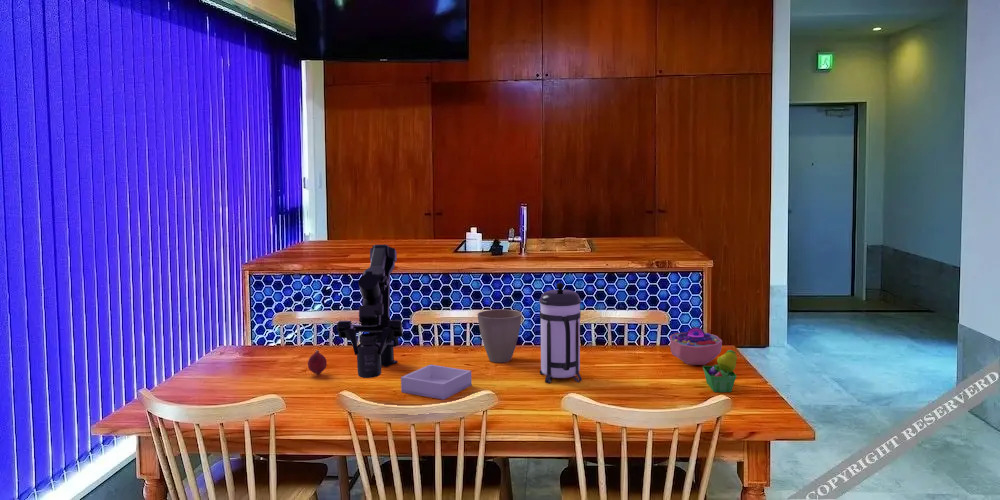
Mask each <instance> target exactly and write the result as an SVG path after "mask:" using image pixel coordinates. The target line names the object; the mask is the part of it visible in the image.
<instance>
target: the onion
mask: <svg viewBox="0 0 1000 500" xmlns="http://www.w3.org/2000/svg"><path fill="white" fill-rule="evenodd" d="M327 363H328V362H327V358H326V357H325V356H324V354H322V353H320V350H318V349H317V350H315V352H314V353H313V354H311V356H310V357H309V359H308V360H307V367H308V370H309V371H311V373H313V374H314V375H316V376H318V375H320V374H322V373H323V371H324V370H325V369H326V367H327Z"/></svg>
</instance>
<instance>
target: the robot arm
mask: <svg viewBox="0 0 1000 500" xmlns="http://www.w3.org/2000/svg"><path fill="white" fill-rule="evenodd" d="M397 255H398V253H397V250H396V248H393V247H392V246H389V245H388V244H374V245H372V247H371V248H370V249H369V261H370V264H369V267H368V268H367V269H365V270H364V272H363V275H361V276H360V278H359V279H358V282H357V283H358V286H359V292H360V294H361V297H362V305H359V306H358V321H359V323H360V324H355V323H353V322H352V320H339V321H338V322H337V323H336V328H335V329H336V331H337V334H338V338H340V339H346V340H347V341H350V342H351V344H352V348H353V349H352V350H353V352H354V356H357V346H358V338H357V333H374V334H376V339H377V341H376V343H378V344H379V345H380V355H381V367H384V368H385V367H386V368H387V367H389V366H392V365H394V364H396V363H398V360H397V359H396V360H395V356H394V355H395V353H394V352H395V351H394V348H396V347H397V346H399V338H401V337H403V335H404V333H403V332H404V328H403V324H402V323H403V322H402V321H401V320H400V319H391V318H390V306H391V305H390V298H391V297H390V296H391V295H390V293H391V292H390V291H391V287H390V285H391V274H392V272H393V271H394V269H395V267H396V262H397V259H398V258H397Z"/></svg>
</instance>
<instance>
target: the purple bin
mask: <svg viewBox="0 0 1000 500" xmlns="http://www.w3.org/2000/svg"><path fill="white" fill-rule="evenodd" d="M400 385H401V386H400V391H401V393H405V394H411V395H417V396H421V397H422V396H423V397H427V398H431V399H432V398H433V399H439V400H446V399H448V398H450V397H451V396H454V395H456V394H458V393H459V392H461V391H463V390H465V389H467V388H469V387H471V386H472V370H469V369H463V368H462V369H461V368H454V367H448V366H442V365H435V364H429V365H426V366H424V367H421V368H419V369H417V370H414V371H412V372H409V373H407V374H405V375H402V376H401V377H400Z"/></svg>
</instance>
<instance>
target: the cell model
mask: <svg viewBox="0 0 1000 500" xmlns="http://www.w3.org/2000/svg"><path fill="white" fill-rule="evenodd" d="M669 344H670V345H669V346H670V353H671V355H672V356H674V357H676V358H677V359H679V360H681V361H682V362H683V363H685V364H687V365H690V366H706V365H707V364H708V363H710V362H712V361H713V360H715V358H717V356H718V355H720V353H721V351H722V346H723V345H722V344H723V340H722V339H721V338H720V337H719V336H718V335H715V334H711V333H709V332H705V331H704V329H702V328H701V327H699V326H694V327H690V328H689V329H688V330H687V331H686V332H685V331H684V332H675V333H673V334H671V335H669Z"/></svg>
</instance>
